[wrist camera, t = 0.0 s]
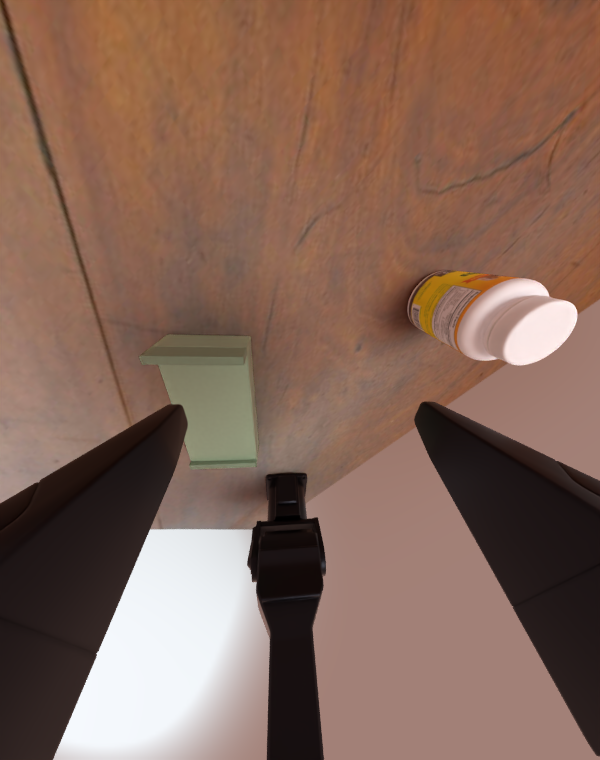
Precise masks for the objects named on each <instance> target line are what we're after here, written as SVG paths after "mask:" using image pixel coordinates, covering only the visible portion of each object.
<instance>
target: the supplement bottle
mask: <svg viewBox="0 0 600 760" xmlns="http://www.w3.org/2000/svg"><path fill="white" fill-rule="evenodd" d="M407 312H408V317H409V319H410V321H411V323H412V324H413V325H414V326H415V327H417V328H419V329H420V330H422V331H424V332H425V333H427V334H429V335H431V336H432V337H434V338H436V339H438V340H439V341H441V342H443V343H445V344H446V345H448V346H450V347H452V348H453V349H455V350H457V351H459V352H460V353H462V354H464V355H466V356H468V357H470V358H472V359H475V360H481V361H488V360H495V359H501V360H503V361H505V362H507V363H510V364H513V365H527V364H530V363H534V362H536V361H539V360H541V359H543V358H544V357H546V356H548V355H549V354H551V353H552V352H553V351H555V350H556V349H557V348H558V347H560V346H561V344H563V342H564V341H565V340H566V339H567V338H568V336H569V335H570V334H571V332H572V330H573V328H574V326H575V324H576V321H577V310H576V308H575V306H574V305H573V304H572V303H570V302H568V301H564V300H560V299H555V298H552V297H549V294H548V291H547V290H546V288H545V287H544V286H543V285H542V284H540V283H539V282H537V281H534V280H530V279H524V278H515V277H507V276H498V275H489V274H480V273H470V272H461V271H451V270H444V271H439V272H436V273H433V274H431V275H429V276H427V277H426V278H425V279H423V280H422V281H421V282H420V283H419V284H418V285H417V286H416V288H415V289H414V291H413V292H412V294H411V296H410V299H409V302H408V307H407Z"/></svg>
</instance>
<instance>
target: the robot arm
mask: <svg viewBox="0 0 600 760" xmlns="http://www.w3.org/2000/svg"><path fill="white" fill-rule="evenodd" d="M414 421H415V425H416V427H417V429H418V432H419V434H420V436H421V439H422V441H423V443H424V445H425V448H426V450H427V453H428V455H429V457H430V459H431V461H432V463H433V464H434V466H435V468H436V470H437V472H438V474H439V475H440V477H441V479H442V481H443V482H444V484H445V486H446V488H447V489H448V492H449V493H450V495H451V497H452V499H453V501H454V502H455V504H456V506H457V507H458V510H459V511H460V513H461V515H462V517H463V519H464V520H465V522H466V524H467V526H468V528H469V529H470V531H471V533H472V535H473V537H474V538H475V540H476V542H477V544H478V546H479V547H480V549H481V551H482V553H483V554H484V556H485V558H486V560H487V562H488V563H489V565H490V567H491V569H492V571H493V573H494V574H495V576H496V578H497V580H498V582H499V583H500V585H501V587H502V589H503V591H504V592H505V594H506V596H507V598H508V600H509V601H510V603H511V605H512V606H513V609H514V611H515V612H516V614H517V616H518V618H519V620H520V622H521V623H522V625H523V627H524V629H525V631H526V632H527V634H528V636H529V638H530V639H531V641H532V643H533V645H534V647H535V649H536V651H537V652H538V654H539V656H540V658H541V659H542V661H543V663H544V665H545V667H546V669H547V670H548V672H549V674H550V676H551V677H552V679H553V681H554V683H555V685H556V687H557V688H558V690H559V692H560V694H561V696H562V697H563V699H564V701H565V703H566V705H567V706H568V708H569V710H570V712H571V714H572V715H573V717H574V719H575V721H576V723H577V724H578V726H579V728H580V730H581V732H582V733H583V735H584V737H585V739H586V740H587V742H588V744H589V745H590V747H591V748H592V750H593V751H594V753H595V754H596V755H597V756H600V481H599V480H597V479H595V478H592V477H591V476H588V475H586V474H584V473H582V472H580V471H578V470H575V469H573V468H571V467H569V466H567V465H565V464H563V463H561V462H559V461H555V460H554V459H552V458H550V457H548V456H546V455H544V454H542V453H540V452H538V451H535V450H534V449H532V448H529V447H527V446H525V445H523V444H521V443H519V442H517V441H515V440H513V439H511V438H509V437H506V436H504V435H502V434H500V433H498V432H496V431H494V430H492V429H490V428H488V427H486V426H483V425H481V424H479V423H477V422H475V421H473V420H471V419H469V418H467V417H465V416H462V415H461V414H458V413H456V412H454V411H452V410H450V409H448V408H446V407H444V406H442V405H440V404H438V403H435V402H422V403H421V404H420V406H419V409H418V411H417V413H416V415H415V419H414ZM187 428H188V421H187V418H186V414H185V411H184V408H183V406H182V405H180V404H169V405H167V406H165V407H163V408H162V409H160V410H158V411H157V412H155V413H153V414H151V415H150V416H148V417H146V418H145V419H143V420H141V421H140V422H138V423H136V424H135V425H133V426H131V427H129V428H128V429H126V430H124V431H123V432H121V433H119V434H118V435H116V436H114V437H112V438H111V439H109V440H107V441H106V442H104V443H102V444H101V445H99V446H97V447H96V448H94V449H92V450H90V451H89V452H87V453H85V454H84V455H82V456H80V457H79V458H77V459H75V460H74V461H72V462H70V463H68V464H67V465H65V466H63V467H62V468H60V469H58V470H57V471H55V472H53V473H51V474H50V475H48V476H46V477H45V478H43V479H41V480H40V482H39V483H34V484H33V485H31V486H29V487H28V488H26V489H24V490H23V491H21V492H19V493H18V494H16V495H14V496H12V497H11V498H9V499H7V500H6V501H4V502H2V503H0V760H53V758H54V756H55V753H56V751H57V748H58V746H59V744H60V741H61V739H62V737H63V734H64V732H65V730H66V727H67V725H68V723H69V720H70V718H71V715H72V713H73V711H74V708H75V706H76V703H77V701H78V699H79V696H80V694H81V692H82V689H83V687H84V685H85V682H86V680H87V677H88V675H89V673H90V670H91V668H92V666H93V663H94V661H95V659H96V656H97V654H96V653H97V652H98V651H99V648H100V646H101V644H102V641H103V639H104V637H105V634H106V632H107V630H108V627H109V625H110V622H111V620H112V618H113V615H114V613H115V611H116V608H117V606H118V603H119V601H120V599H121V596H122V594H123V591H124V589H125V587H126V584H127V582H128V580H129V577H130V575H131V573H132V570H133V568H134V566H135V563H136V561H137V558H138V556H139V553H140V551H141V549H142V547H143V544H144V542H145V539H146V537H147V535H148V532H149V530H150V528H151V525H152V523H153V521H154V518H155V516H156V513H157V511H158V509H159V506H160V504H161V502H162V499H163V497H164V494H165V492H166V490H167V487H168V485H169V483H170V480H171V478H172V476H173V473H174V471H175V468H176V465H177V462H178V459H179V455H180V452H181V448H182V445H183V442H184V438H185V435H186V431H187ZM306 483H307V475H306V474H287V475H268V476H266V489H267V500H269V501H268V521H264V522H261V521H257V525H256V527H254V528H253V531H252V542H251V546H250V551H249V556H248V563H247V565H248V567H249V568H250V570H251V574H252V582H257V585H256V593H257V600H258V607H259V611H260V613H261V616H262V619H263V622H264V624H265V627H266V630H267V633H268V635H269V637H270V659H269V660H270V661H269V696H268V736H267V760H324V756H323V744H322V733H321V722H320V712H319V711H320V710H319V700H318V687H317V676H316V665H315V653H314V644H313V631H312V628H313V624H314V620H315V617H316V614H317V610H318V606H319V602H320V599H321V595H322V591H323V576H325V574H326V561H325V552H324V546H323V541H322V536H321V531H320V526H319V521H318V518H312V519H307V516H306V508H305V492H306Z"/></svg>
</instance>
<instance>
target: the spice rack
mask: <svg viewBox="0 0 600 760" xmlns="http://www.w3.org/2000/svg"><path fill="white" fill-rule="evenodd" d="M139 358H140V361H141V364H142V365H158V366H159V369H160V372H161V375H162V378H163V381H164V383H165V386H166V389H167V392H168V395H169V398H170V401H171V404H180V405H182V406H183V408H184V411H185V414H186V418H187V421H188V428H187V431H186V435H185V438H184V442H185V445H186V448H187V451H188V454H189V457H190V460H191V463H190V465H189V466H190V469H217V468H243V467H257V458H258V449H259V439H258V426H257V413H256V400H255V387H254V374H253V361H252V348H251V336H227V335H175V334H167V335H166V336H165V337H163V338H162V339H161V340H159V341H158V342H157V343H155V344H154V345H153V346H152V347H150V348H149V349H148V350H146V351H145V352H144V353H142V354H141V355H140V356H139Z"/></svg>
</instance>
